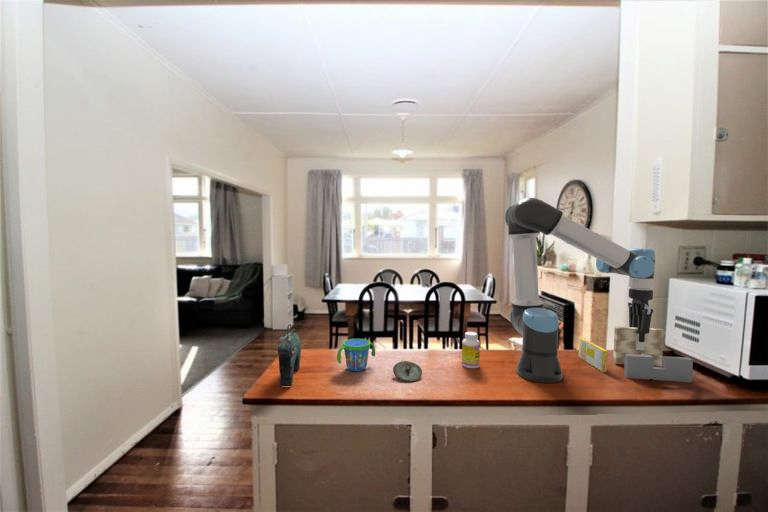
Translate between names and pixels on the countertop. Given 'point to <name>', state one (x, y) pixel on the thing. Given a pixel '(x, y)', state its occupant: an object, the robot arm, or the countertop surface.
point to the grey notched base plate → (658, 368)
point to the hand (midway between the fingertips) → (637, 348)
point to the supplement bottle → (470, 350)
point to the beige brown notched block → (627, 341)
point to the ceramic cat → (288, 356)
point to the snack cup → (356, 353)
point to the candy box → (593, 354)
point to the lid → (407, 371)
